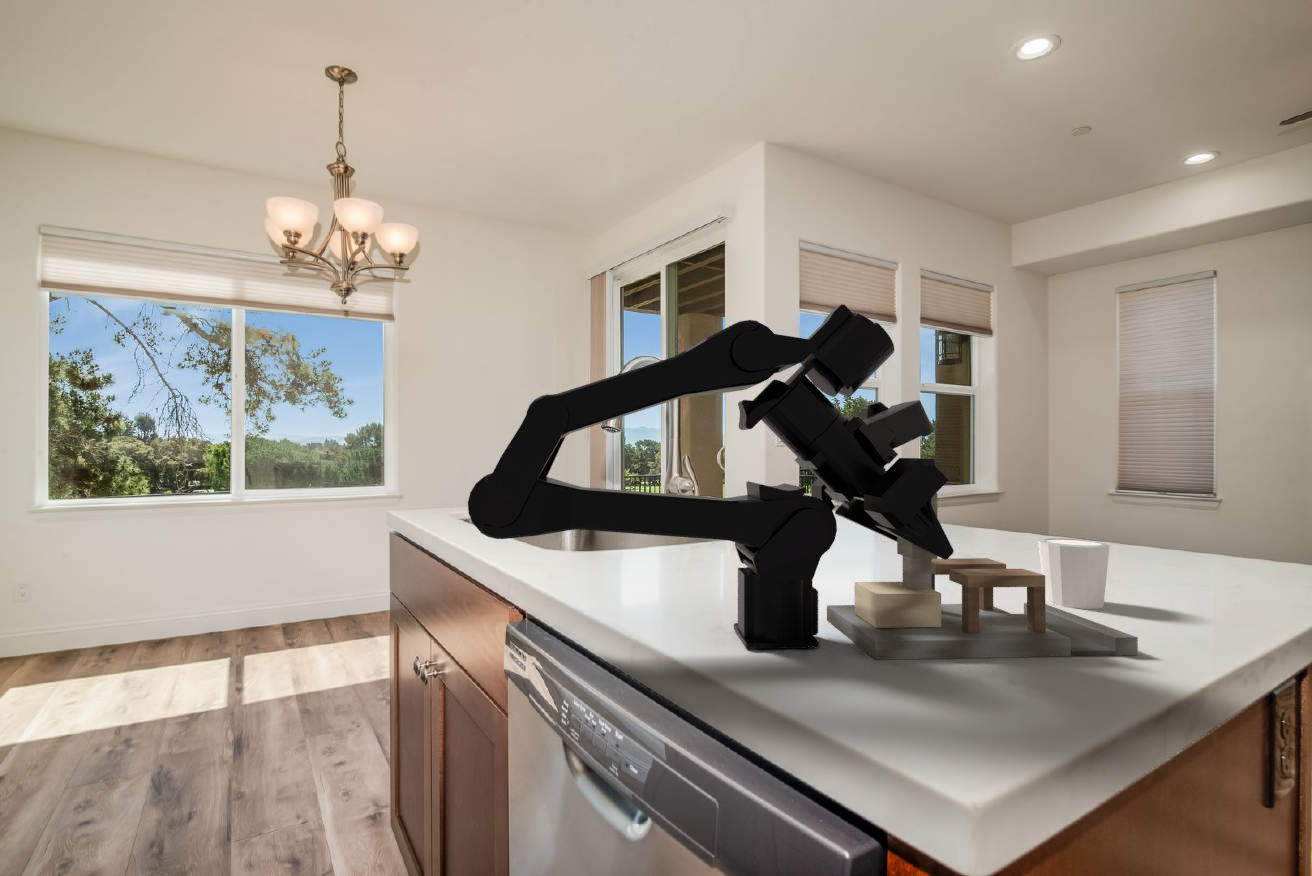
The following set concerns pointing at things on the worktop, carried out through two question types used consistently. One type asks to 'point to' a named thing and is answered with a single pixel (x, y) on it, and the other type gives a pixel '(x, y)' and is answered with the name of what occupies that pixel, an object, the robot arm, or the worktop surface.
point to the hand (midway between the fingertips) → (931, 549)
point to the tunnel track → (986, 622)
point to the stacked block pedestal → (903, 592)
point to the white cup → (1074, 572)
